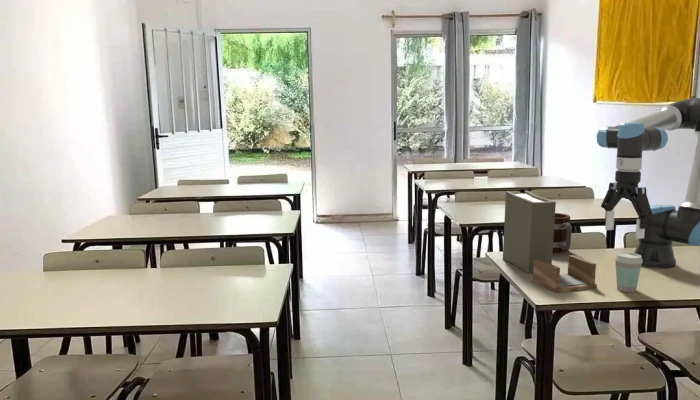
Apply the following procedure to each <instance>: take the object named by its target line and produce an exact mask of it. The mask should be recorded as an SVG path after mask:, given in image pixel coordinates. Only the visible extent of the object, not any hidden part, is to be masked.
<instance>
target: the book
mask: <svg viewBox="0 0 700 400" xmlns="http://www.w3.org/2000/svg"><path fill="white" fill-rule="evenodd" d="M504 202H505V203H504V222H503V225H504V226H503V245H502V260H503V261H505V262H508V263H510V264H513V265H514V266H516V267H518V268H520V270H521V271H524V272H525V273H526V274H529V275H533V270H534V259H539V260H542V261H544V262H547V263H549V264H552V263H553V254H554V253H553V237H554V222H555V213H556V207H557V202H556V200H555V201H554V200H552V199H549V198H545V197H542V196H539V195H537V194H534V193H533V192H531V191H529V190H524V193H517V194H515V193H513V192H511V191H509V190H508V191H505V201H504ZM552 265H553V264H552Z"/></svg>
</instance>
